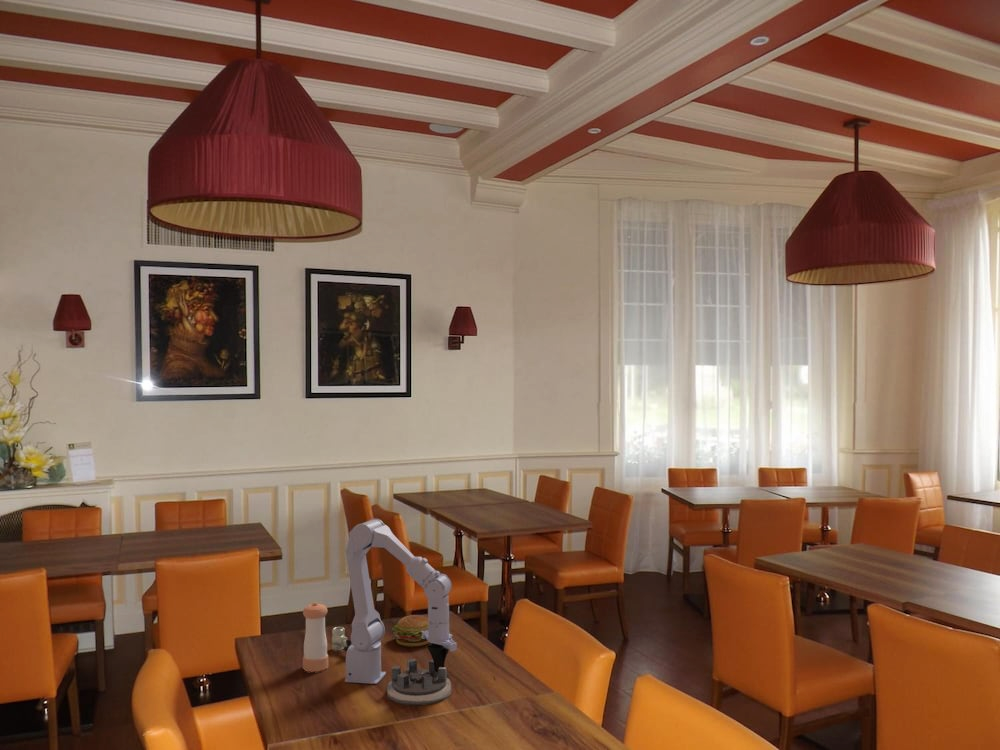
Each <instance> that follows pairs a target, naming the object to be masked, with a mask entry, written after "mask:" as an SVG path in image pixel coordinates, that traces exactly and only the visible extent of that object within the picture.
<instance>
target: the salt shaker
mask: <svg viewBox="0 0 1000 750" xmlns="http://www.w3.org/2000/svg"><path fill="white" fill-rule="evenodd" d="M302 614H303V617H304V618H305V633H304V634H305V636H304V642H303V656H302V670H303V669H304V670H305V671H311V672H313V671H320V670H324V669H326V668H327V669H328V668H329V654H328V640H327V639H328V638H327V635H326V616H327V614H328V608H327V606H326V605H324V604H322V603H319V602H317V601H313V602H312V604H311V603H310V604H309V605H306V606H305V607H304V609H303V611H302ZM327 669H326V670H327ZM305 671H304V672H305ZM324 671H325V670H324Z"/></svg>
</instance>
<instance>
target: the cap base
mask: <svg viewBox="0 0 1000 750" xmlns="http://www.w3.org/2000/svg"><path fill="white" fill-rule="evenodd" d="M386 688H387V689H386V690H387V691H386V692H387V694H386V696H387V698H388V699H389V700H390V701H391V702H393V703H396V704H398V705H403V706H412V707H413V706H414V707H415V706H429V705H433V704H436V703H440V702H442V701H444V700H447V698H448V697H450V695H451V693H452V681H451V680H450V679H449V678H448V677H447V683H446V686H445V687H444V688H442V689H441V690H439V691H436V692H433V693H429V694H422V695H410V694H403V693H400V692H397V691H396V690H394V689H393V688H392V680H390V681H389V682H388V684H387V687H386Z"/></svg>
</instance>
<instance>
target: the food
mask: <svg viewBox="0 0 1000 750" xmlns="http://www.w3.org/2000/svg"><path fill="white" fill-rule="evenodd" d="M391 629H392V630H393V633H392V634H393V635H394V637H395V639H396V640H395V641H396V643H397V644H398V645H400V646H403V647H404V646H405V647H409V648H410V647H411V648H412V647H413V648H414V646H415V647H422V646H426V645H429V644H431V643H430V642H428V640H427V639H422V631H426V630H428V616H425V615H421V614H411V615H407V616H404V617H402V618H401V619H400V620H399V621H398V622H397V624H395V625H394V626H393V627H392V628H391Z"/></svg>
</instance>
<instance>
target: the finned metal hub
mask: <svg viewBox="0 0 1000 750" xmlns="http://www.w3.org/2000/svg"><path fill="white" fill-rule="evenodd" d="M428 665H429V666H428V668H418V660H417V659H416V658H411V659H406V670H405V671H402V672H401V670H402V669H401V668H402V665H393V666H392V667H391V681H392V688H393V689H394V690H396V691H397V692H400V693H403V694H410V695H422V694H429V693H433V692H436V691H439V690H441V689H442V688H444V687H445V686H446V683H447V678H448V671H447V670H448V669H447V668H448V667H446V666H444V667H439V669H438V672H436V671H435V668H434V662H433V659H431V660H429V661H428Z"/></svg>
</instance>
